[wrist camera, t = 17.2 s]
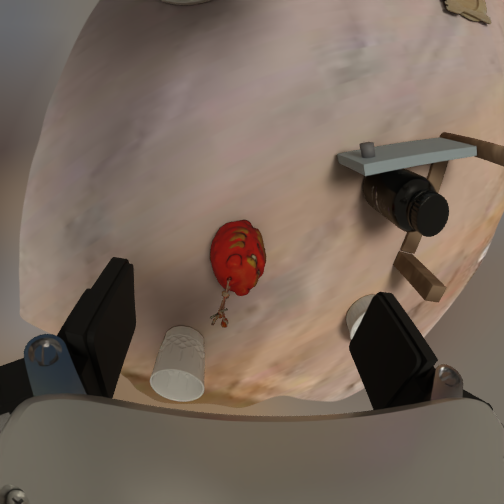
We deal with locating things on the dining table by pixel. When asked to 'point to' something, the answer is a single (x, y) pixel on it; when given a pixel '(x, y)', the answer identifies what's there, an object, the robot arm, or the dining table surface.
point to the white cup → (180, 365)
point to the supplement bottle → (407, 201)
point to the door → (403, 155)
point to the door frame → (407, 262)
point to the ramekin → (357, 313)
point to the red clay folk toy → (237, 260)
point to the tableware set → (469, 9)
